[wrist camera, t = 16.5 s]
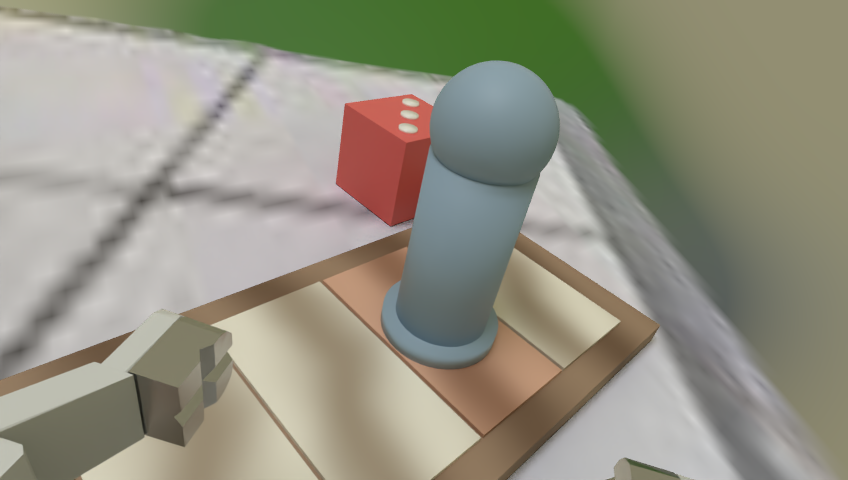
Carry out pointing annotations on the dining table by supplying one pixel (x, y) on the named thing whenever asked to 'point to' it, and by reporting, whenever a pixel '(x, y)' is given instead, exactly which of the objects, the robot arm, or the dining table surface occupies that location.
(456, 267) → the pawn
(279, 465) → the game track
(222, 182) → the dining table surface
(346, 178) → the red die
